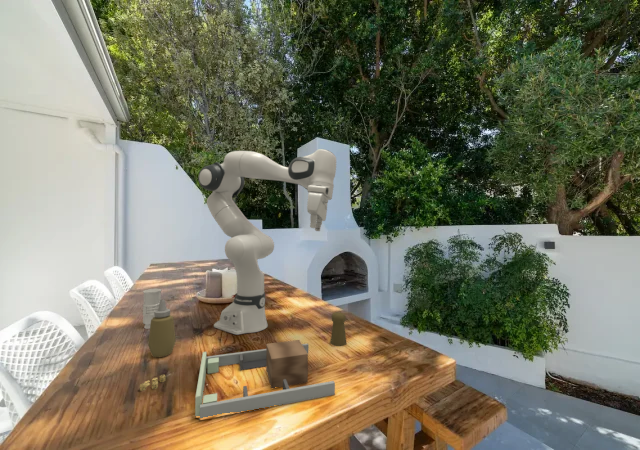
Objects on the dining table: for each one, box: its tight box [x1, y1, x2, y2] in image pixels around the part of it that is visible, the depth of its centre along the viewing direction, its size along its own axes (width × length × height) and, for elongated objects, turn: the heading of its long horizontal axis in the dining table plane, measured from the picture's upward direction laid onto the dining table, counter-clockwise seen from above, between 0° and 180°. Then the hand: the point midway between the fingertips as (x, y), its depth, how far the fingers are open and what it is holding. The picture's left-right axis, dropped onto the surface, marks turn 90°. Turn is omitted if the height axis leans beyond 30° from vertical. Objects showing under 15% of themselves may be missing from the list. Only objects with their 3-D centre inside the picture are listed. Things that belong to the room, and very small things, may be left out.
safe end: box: [194, 351, 220, 417], centre depth 75 cm, size 4×23×5 cm, turn 19°
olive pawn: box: [330, 311, 347, 347], centre depth 104 cm, size 6×6×11 cm
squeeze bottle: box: [147, 298, 177, 358], centre depth 94 cm, size 8×8×18 cm
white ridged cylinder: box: [142, 288, 163, 330], centre depth 119 cm, size 7×7×15 cm
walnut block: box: [265, 339, 309, 389], centre depth 81 cm, size 10×10×8 cm
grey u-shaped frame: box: [199, 343, 336, 419], centre depth 79 cm, size 32×25×3 cm
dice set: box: [139, 374, 166, 392], centre depth 76 cm, size 5×5×2 cm
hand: (315, 229), depth 103 cm, fingers open, 8 cm apart
